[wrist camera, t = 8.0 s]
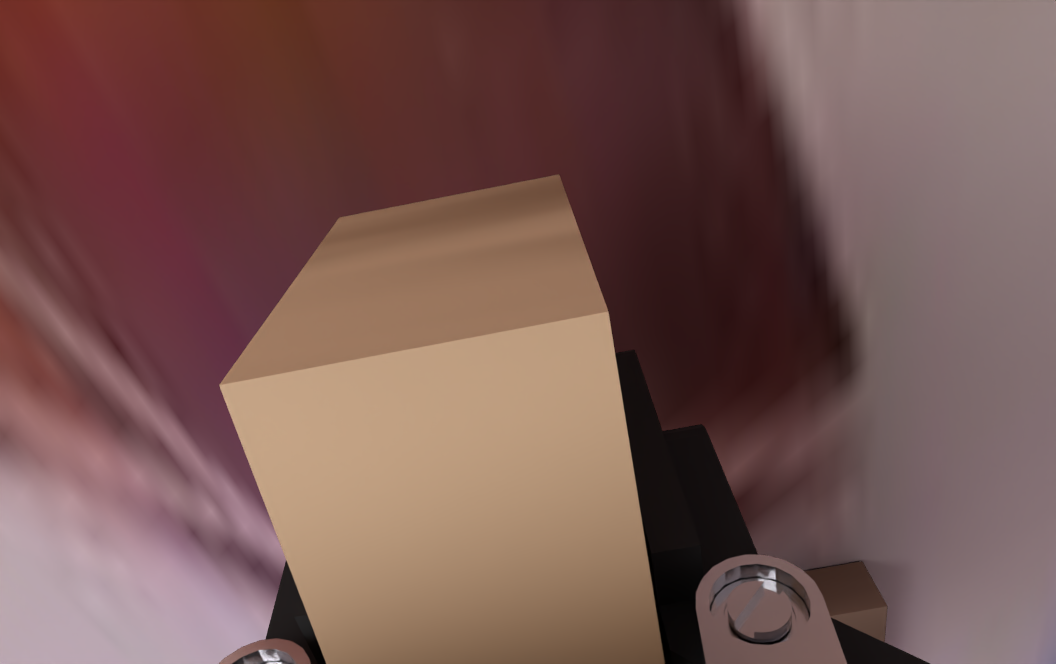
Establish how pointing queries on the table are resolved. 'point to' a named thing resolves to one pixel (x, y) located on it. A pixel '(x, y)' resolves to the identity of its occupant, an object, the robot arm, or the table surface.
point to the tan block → (451, 440)
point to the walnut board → (852, 597)
